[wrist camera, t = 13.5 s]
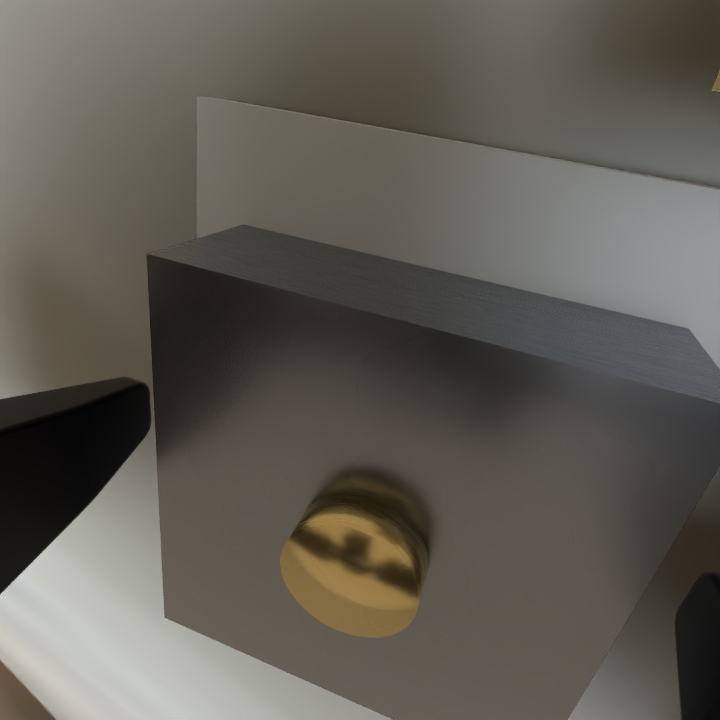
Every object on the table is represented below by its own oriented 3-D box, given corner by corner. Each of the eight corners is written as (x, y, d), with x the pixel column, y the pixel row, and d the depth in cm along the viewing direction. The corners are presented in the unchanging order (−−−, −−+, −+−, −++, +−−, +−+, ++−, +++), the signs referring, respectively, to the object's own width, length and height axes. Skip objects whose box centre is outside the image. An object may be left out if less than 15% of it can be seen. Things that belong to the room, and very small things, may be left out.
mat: (543, 688, 10) (543, 717, 10) (211, 554, 12) (196, 572, 12) (805, 202, 6) (830, 210, 5) (219, 98, 8) (196, 95, 7)
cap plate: (533, 649, 9) (530, 829, 7) (231, 531, 11) (141, 647, 8) (688, 328, 6) (780, 448, 4) (243, 224, 8) (108, 265, 5)
